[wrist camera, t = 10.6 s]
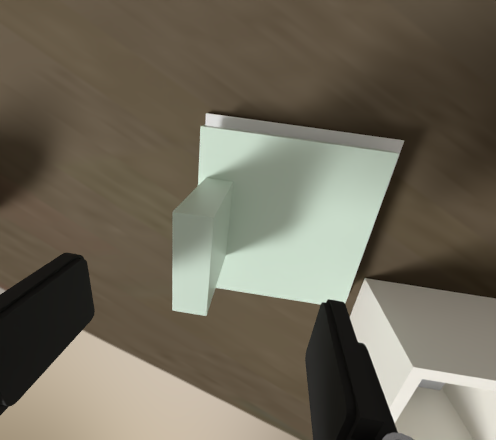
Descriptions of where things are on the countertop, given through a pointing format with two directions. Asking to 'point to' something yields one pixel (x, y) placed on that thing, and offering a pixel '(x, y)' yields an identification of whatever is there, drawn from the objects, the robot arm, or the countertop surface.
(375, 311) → the parts tub
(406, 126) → the countertop surface
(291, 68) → the countertop surface
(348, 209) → the lid
